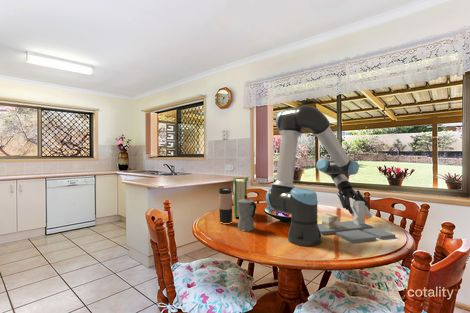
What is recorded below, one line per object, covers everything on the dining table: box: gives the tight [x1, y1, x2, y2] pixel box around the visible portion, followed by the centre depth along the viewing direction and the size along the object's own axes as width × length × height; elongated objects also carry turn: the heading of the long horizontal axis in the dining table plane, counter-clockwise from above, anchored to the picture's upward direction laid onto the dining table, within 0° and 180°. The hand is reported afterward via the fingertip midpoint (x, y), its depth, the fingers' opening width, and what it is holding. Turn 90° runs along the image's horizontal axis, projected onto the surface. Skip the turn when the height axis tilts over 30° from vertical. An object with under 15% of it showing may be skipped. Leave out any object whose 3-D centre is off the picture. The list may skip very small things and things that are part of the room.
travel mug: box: [218, 187, 233, 223], centre depth 146 cm, size 8×8×20 cm
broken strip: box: [335, 227, 396, 244], centre depth 119 cm, size 24×11×2 cm, turn 105°
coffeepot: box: [237, 195, 257, 232], centre depth 133 cm, size 15×9×18 cm, turn 33°
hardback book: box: [232, 177, 248, 218], centre depth 164 cm, size 18×7×24 cm, turn 3°
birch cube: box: [321, 213, 340, 229], centre depth 130 cm, size 6×6×6 cm
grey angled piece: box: [318, 200, 374, 236], centre depth 131 cm, size 30×12×14 cm, turn 105°
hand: (363, 217), depth 131 cm, fingers open, 8 cm apart
